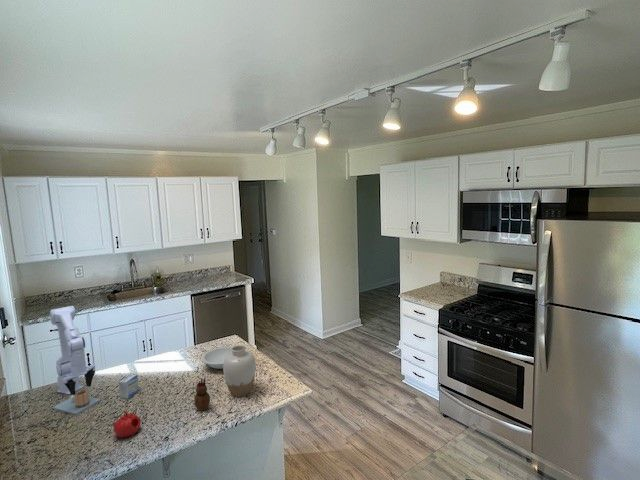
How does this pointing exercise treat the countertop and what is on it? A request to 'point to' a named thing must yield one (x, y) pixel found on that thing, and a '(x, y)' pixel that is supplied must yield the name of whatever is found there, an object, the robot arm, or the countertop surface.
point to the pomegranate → (127, 425)
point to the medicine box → (129, 386)
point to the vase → (239, 371)
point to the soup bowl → (216, 356)
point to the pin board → (70, 405)
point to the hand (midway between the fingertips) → (81, 390)
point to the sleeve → (82, 399)
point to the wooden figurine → (201, 396)
